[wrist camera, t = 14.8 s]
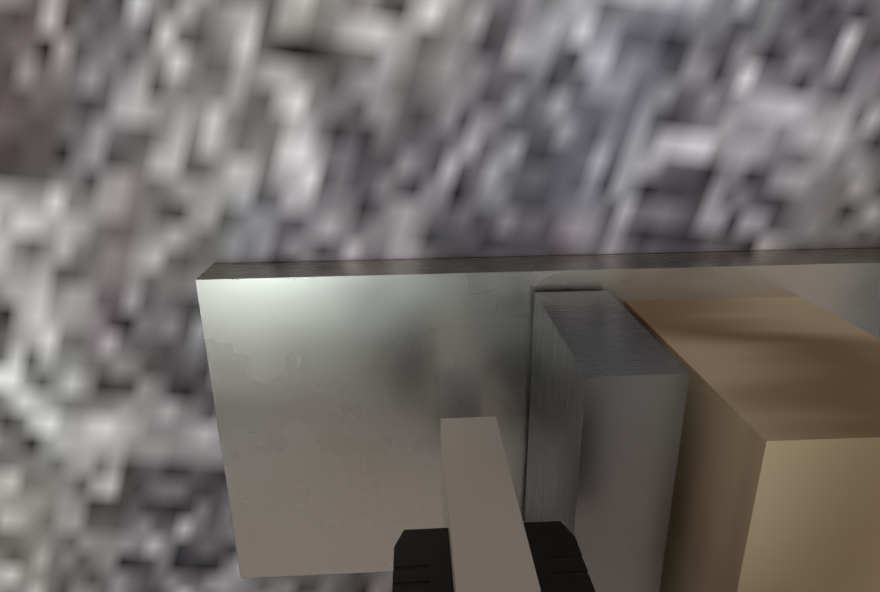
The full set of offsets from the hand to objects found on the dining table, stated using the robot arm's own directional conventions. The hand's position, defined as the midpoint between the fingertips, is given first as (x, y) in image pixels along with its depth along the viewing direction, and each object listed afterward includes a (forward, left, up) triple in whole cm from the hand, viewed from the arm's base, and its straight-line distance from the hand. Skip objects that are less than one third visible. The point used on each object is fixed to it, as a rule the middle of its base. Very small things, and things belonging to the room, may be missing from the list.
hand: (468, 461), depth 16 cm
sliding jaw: (+3, -1, -1) cm, 3 cm away
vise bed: (+5, 0, -3) cm, 6 cm away
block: (+7, 0, -2) cm, 7 cm away
